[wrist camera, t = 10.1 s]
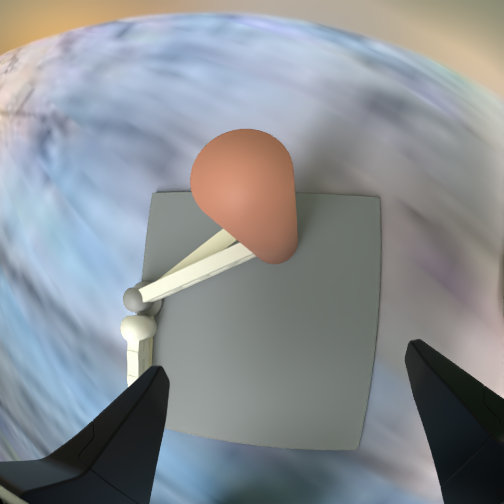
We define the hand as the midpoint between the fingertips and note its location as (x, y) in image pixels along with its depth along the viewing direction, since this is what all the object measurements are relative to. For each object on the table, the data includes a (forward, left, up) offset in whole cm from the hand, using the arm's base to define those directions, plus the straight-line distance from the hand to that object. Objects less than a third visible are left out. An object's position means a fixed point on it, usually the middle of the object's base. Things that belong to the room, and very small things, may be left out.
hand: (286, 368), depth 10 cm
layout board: (0, +3, -10) cm, 10 cm away
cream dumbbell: (-4, +10, -10) cm, 15 cm away
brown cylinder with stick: (+4, +6, -9) cm, 11 cm away
